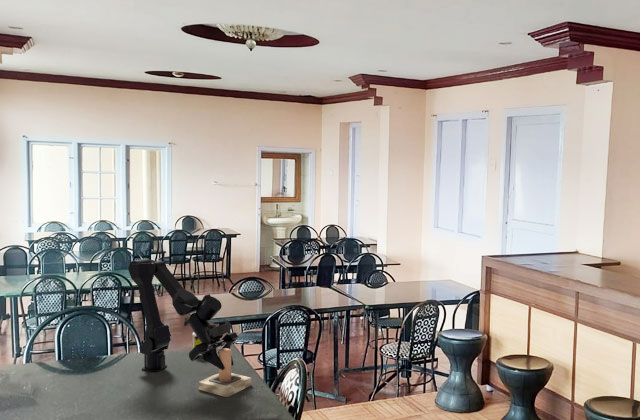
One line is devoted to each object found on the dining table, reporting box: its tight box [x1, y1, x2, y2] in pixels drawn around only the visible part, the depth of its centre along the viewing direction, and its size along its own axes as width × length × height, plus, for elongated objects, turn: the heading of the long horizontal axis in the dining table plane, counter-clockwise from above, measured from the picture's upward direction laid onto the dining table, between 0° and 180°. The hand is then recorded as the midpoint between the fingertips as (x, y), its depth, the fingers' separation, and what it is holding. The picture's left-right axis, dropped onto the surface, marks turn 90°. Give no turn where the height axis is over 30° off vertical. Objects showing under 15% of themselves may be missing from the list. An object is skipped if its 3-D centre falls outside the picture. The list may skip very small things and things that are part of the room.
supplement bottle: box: [191, 331, 202, 356], centre depth 221 cm, size 6×6×10 cm
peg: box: [218, 348, 232, 383], centre depth 187 cm, size 4×4×12 cm
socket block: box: [198, 372, 252, 398], centre depth 187 cm, size 12×12×3 cm
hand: (228, 367), depth 186 cm, fingers closed on peg, 4 cm apart
